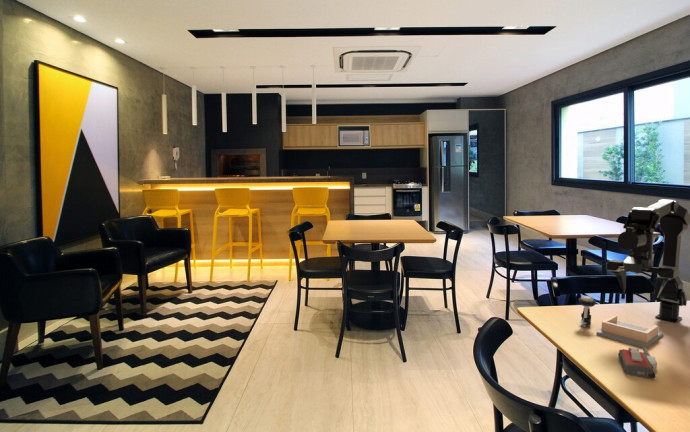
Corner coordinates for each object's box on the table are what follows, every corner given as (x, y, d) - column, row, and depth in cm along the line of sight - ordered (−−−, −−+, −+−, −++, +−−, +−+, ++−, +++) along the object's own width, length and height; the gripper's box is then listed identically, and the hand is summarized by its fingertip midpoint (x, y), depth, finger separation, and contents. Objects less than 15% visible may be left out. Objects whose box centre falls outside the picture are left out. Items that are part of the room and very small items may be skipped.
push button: (592, 329, 145) (594, 301, 144) (575, 326, 149) (576, 298, 148) (595, 324, 151) (597, 296, 149) (578, 320, 154) (580, 294, 153)
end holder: (615, 323, 151) (616, 312, 151) (663, 335, 140) (664, 323, 139) (596, 334, 141) (597, 322, 141) (645, 348, 130) (646, 335, 130)
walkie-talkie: (664, 384, 110) (648, 353, 128) (665, 367, 109) (649, 339, 127) (624, 377, 114) (614, 348, 132) (625, 361, 113) (615, 334, 131)
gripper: (599, 246, 139) (597, 293, 140) (668, 252, 124) (666, 305, 125) (613, 243, 145) (612, 288, 147) (680, 249, 131) (678, 299, 132)
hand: (639, 294), depth 137 cm, fingers open, 9 cm apart
